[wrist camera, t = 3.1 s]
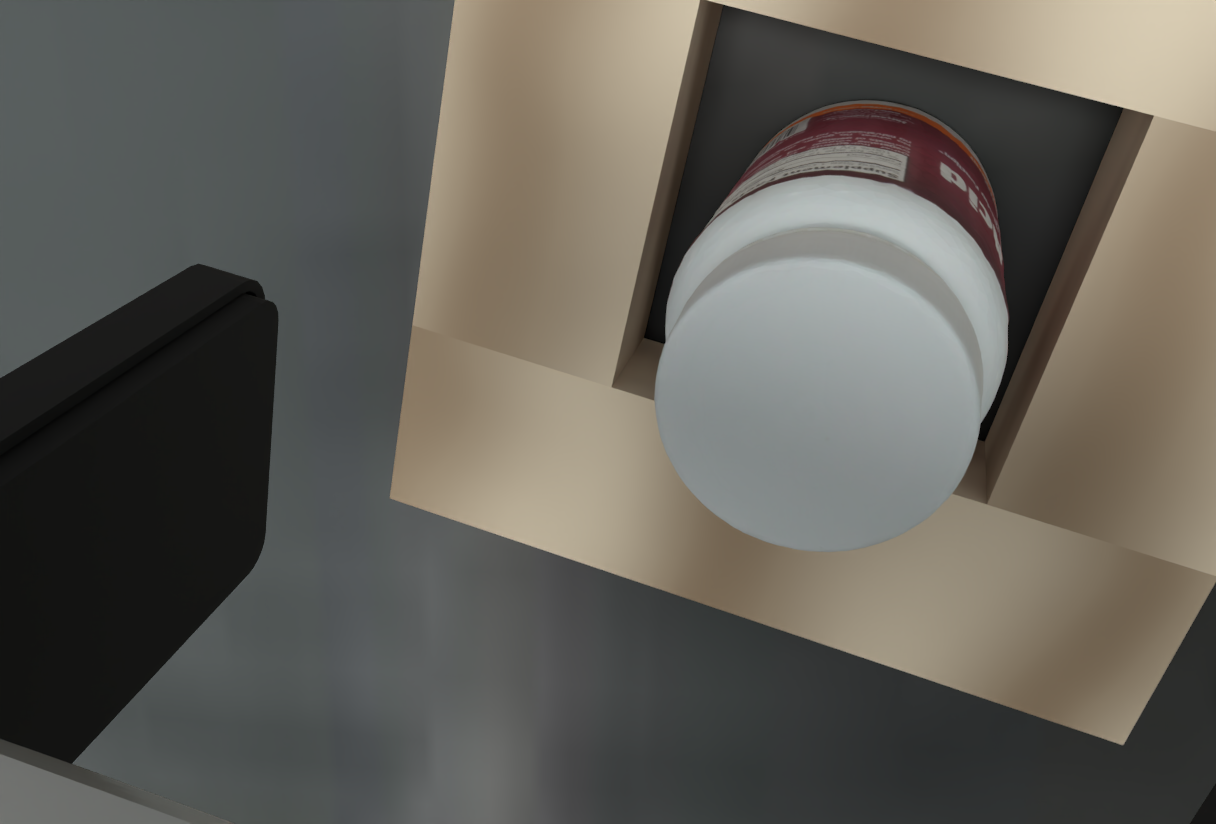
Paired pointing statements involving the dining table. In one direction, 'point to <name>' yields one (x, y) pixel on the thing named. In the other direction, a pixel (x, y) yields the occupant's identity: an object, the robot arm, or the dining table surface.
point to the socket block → (627, 362)
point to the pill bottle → (837, 331)
